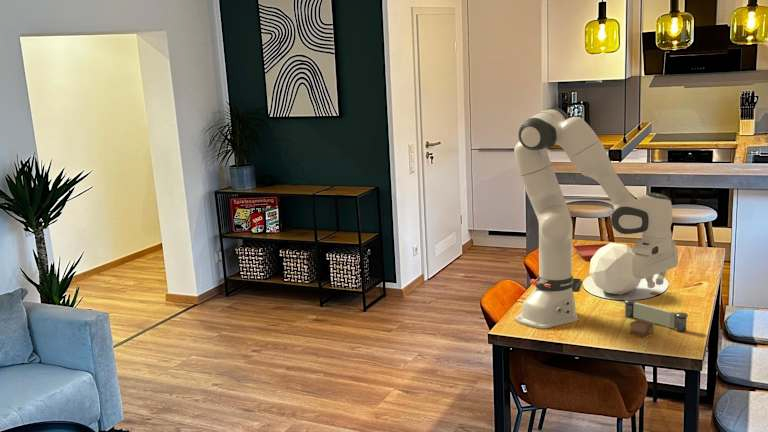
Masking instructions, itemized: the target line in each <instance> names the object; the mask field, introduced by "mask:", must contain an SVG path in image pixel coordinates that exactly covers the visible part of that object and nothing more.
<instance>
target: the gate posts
mask: <svg viewBox="0 0 768 432" xmlns="http://www.w3.org/2000/svg"><path fill="white" fill-rule="evenodd" d="M623 301H624V305H625V306H624V317H625V318H627V319H633V318H634V319H635V317H633V305H634V303H635V302H636V303H637V301H636V300H634V299H630V298H629V299H625V300H623ZM675 313H676V328H675V332H678V333H686V332H687V321H688V320H687V318H688V313H686V312H681V311H680V312H679V311H678V312H675Z"/></svg>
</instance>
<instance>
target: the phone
mask: <svg viewBox="0 0 768 432" xmlns="http://www.w3.org/2000/svg"><path fill="white" fill-rule="evenodd" d="M581 282H582V279H581V278H574V277H573V287H572V291H573V293H575V292H579V289H580V286H581Z"/></svg>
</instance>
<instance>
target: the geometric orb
mask: <svg viewBox="0 0 768 432" xmlns="http://www.w3.org/2000/svg"><path fill="white" fill-rule="evenodd" d="M607 244H608V245H606V246H604V247H602V248H600V249H599V250H598V251H597V252H596V253H595V255H594V256H593V257H592V259H591V260H590V262H589V263H590V264H589V273H588V274H589V275H590V277H591V279H592V281H593V282H594V284H595V286H596V287H598V288H599V289H600V290H602V291H604V292H605V293H608V294H613V295H619V296H623V295H625V294H627V293H629V292H630V291H633V290H634V289H636V288H637V286H638V285H639V283H640V282H641V281H642V279H640V278H636V277H634V276H633V273H632V259H633V255H634V254H635V253H633V252H632V247H630V246H629V245H627V244H623V243H614V242H609V243H607Z"/></svg>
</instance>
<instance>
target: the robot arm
mask: <svg viewBox="0 0 768 432" xmlns="http://www.w3.org/2000/svg"><path fill="white" fill-rule="evenodd" d="M518 139H519V140H518V142H516V144H515V146H514V149H513V150H514V151H513V152H514V153H513V154H514V158H515V163H516V167H517V170H518V174H519V177H520V178H521V182H522V184H523V187H524V189H525V192H526V195H527V197H528V199H529V201H530V204H531V206H532V208H533V211H534V213H535V216H536V218H537V222H538V276H537V278H536V279H535V278H531V279H530V282H529V284H531V286H535V288H534V289H533V290H532V291H531V293H529V295H528V296H527V297H526V298H525V300H524V301H523V302H522V306H521V307H522V308H521V312H520V313H519V314H517V315H515V316H514V320H515V321H517V323H519V324H522V325H525V326H528V327H532V328H536V329H542V330H543V329H545V330H546V329H550V328H553V327H559V326H561V325H565V324H569V323H573V322H574V323H575V322H576V321H577V322H578V321H579V317H578V315H577V310H576V309H577V308H576V299H575V295H574V292H573V291H572V287H573V278H574V277H573V275H572V273H573V272H572V271H573V268H572V266H573V265H572V262H573V261H572V257H573V255H572V253H573V231H574V229H573V220H572V215H571V212H570V210H569V208H568V204H567V202H566V200H565V197H564V194H563V192H562V189H561V187H560V186H561V185H560V184H559V181H558V179H557V176H556V173H555V171H554V168H553V164H552V162H551V159H550V157H549V153H548V149H549V148H552V147H554V146H555V145H557V146H559V147H561V148H562V150H563V151H564V152H565V154H566V155H567V157H568V159H569V161H570V162H571V164H572V165H573V166H574V168H575V169H576V170H577V171H578V172H579V174H581V175H583V176H584V177H588V178H591V179H592V180H594V181H596V182H597V183H598V184H599V185H600V187H601V188H602V189H603V191H604V192H605V194H606V195H607V197H608V198H609V200H610V202H611V203H612V206H613V209H614V210H613V212H612V213H611V218H610V223H611V226H612V227H613V229H614V230H615V231H616V232H618V233H620V234H622V235H633V234H640V233H641V238H640V239H639V240H638V241H637V242H636V243H635V244H634V245H633V246H632V247H631V248H632V252H633V253H635V254H634V255H633V259H632V273H633V276H634V277H636V278H640V279H641V280H643V279H644V280H645V281H646V282H647V287H648V289H653V288H655V287H656V286H657V285H658V286H661V285H663V284H664V279H665V277H666V275H667V271H669V270H671V269H674V268H677V266H678V264H679V254H678V253H679V252H678V248H677V245H676V241H675V240H674V239H672V237H673V236H672V234H673V233H672V230H671V226H672V224H673V206H672V205H673V204H672V201H671V199H670V198H669V197H668V196H667V195H665V194H662V193H658V192H647V193H645V194H644V195H642V196H641V197H638V198H637V197H636V196H634V195H633V194H632V193H631V192H630V191H629V189H628V188H627V187H626V185H625V184H624V182H623V181H622V180H621V178H620V177H619V174H618V173H617V172H616V171H615V169H614V166H613V164H612V162H611V160H610V157H609V154H608V153H607V150H606V149H605V146H604V145H603V142H602V141H601V140H600V139H599V137H598V136H597V134H596V133H595V131H594V130H593V129H592V127H591V126H590V125H589V124H588V122H586V121H585V120H584V119H583V118H582V117H579V116H573V117H568V115H567V113H566V112H565V111H563V109H561V108H557V107H549V108H546V109H544V110H541V111H539V112H537V113H535V114H534V115H532V116H531V117H530V118H528V119H526V120H525V121H523V123H522V124H521V125H520V128H519V130H518ZM655 275H657V278H655V281H654V276H655Z"/></svg>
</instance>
